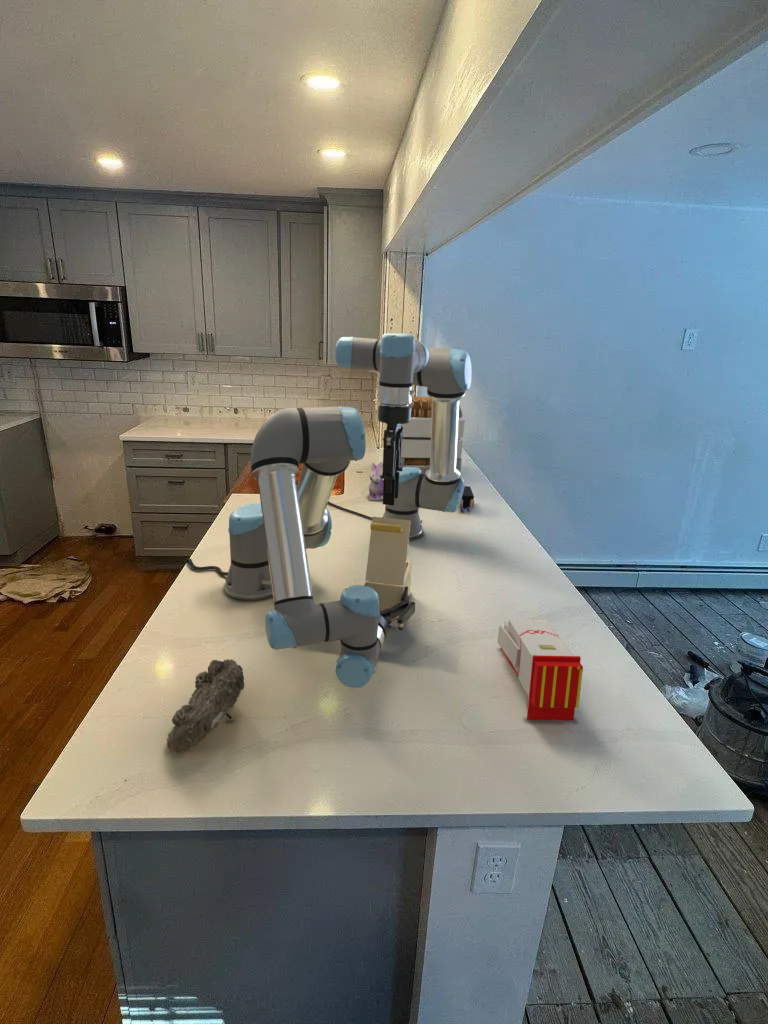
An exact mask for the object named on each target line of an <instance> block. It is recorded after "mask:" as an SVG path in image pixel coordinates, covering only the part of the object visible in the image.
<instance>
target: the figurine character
mask: <svg viewBox="0 0 768 1024" xmlns="http://www.w3.org/2000/svg"><path fill="white" fill-rule="evenodd" d="M474 498H475V496H474V492H473V489H472V488H471V486H469V485H465V487H464V492H463V495H462V499H461V502H460V505H459V507H458V509H460V512H461V513H462V512H464V511H463V510H467V512H468V513H470V511H471V510H470V509H474V508H475V499H474Z"/></svg>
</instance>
